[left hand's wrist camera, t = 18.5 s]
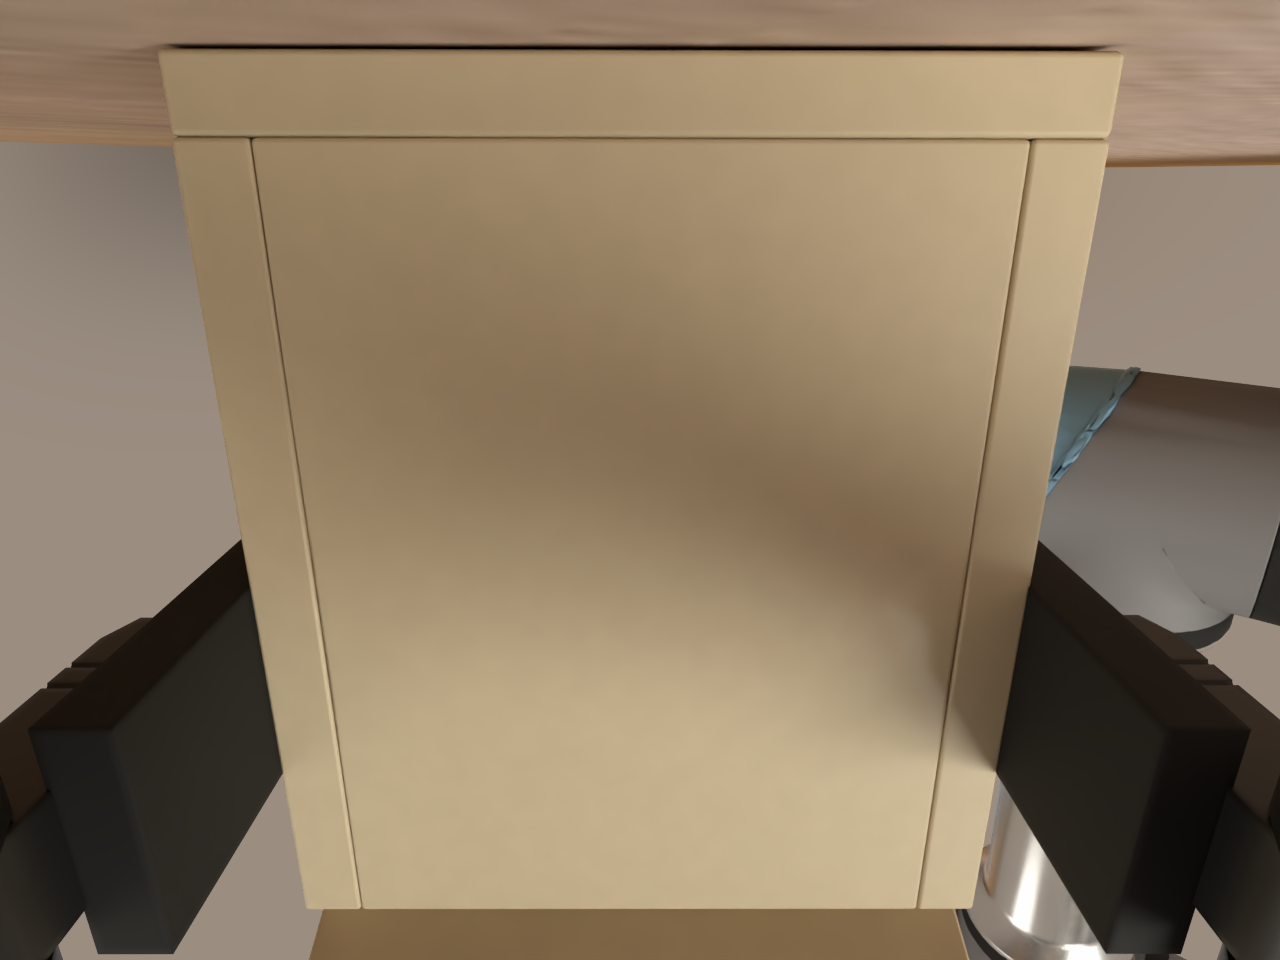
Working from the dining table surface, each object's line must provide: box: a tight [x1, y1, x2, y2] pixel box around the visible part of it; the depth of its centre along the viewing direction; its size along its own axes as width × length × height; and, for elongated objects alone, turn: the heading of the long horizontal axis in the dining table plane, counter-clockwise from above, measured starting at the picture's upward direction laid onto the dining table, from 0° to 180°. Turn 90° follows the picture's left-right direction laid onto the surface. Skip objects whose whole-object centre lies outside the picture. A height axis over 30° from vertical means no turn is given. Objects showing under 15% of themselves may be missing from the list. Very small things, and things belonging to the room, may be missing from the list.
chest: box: [158, 49, 1124, 909], centre depth 16 cm, size 13×9×11 cm
